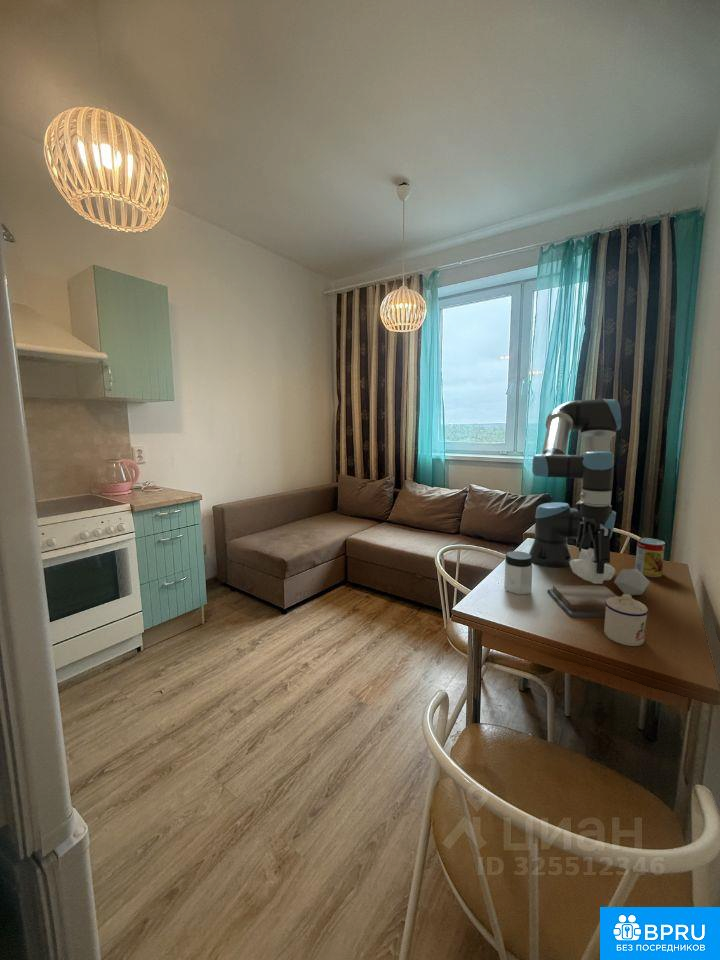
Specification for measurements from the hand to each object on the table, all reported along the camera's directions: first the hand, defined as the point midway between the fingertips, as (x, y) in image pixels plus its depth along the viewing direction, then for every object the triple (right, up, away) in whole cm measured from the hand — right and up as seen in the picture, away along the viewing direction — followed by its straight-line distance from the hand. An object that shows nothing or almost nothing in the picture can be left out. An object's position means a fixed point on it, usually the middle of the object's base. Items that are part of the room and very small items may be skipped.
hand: (590, 577), depth 116 cm
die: (+18, -7, +8) cm, 21 cm away
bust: (0, -1, 0) cm, 1 cm away
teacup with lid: (0, -11, -15) cm, 19 cm away
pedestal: (0, -9, +1) cm, 9 cm away
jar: (-17, -8, +13) cm, 22 cm away
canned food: (+35, -5, +23) cm, 42 cm away
